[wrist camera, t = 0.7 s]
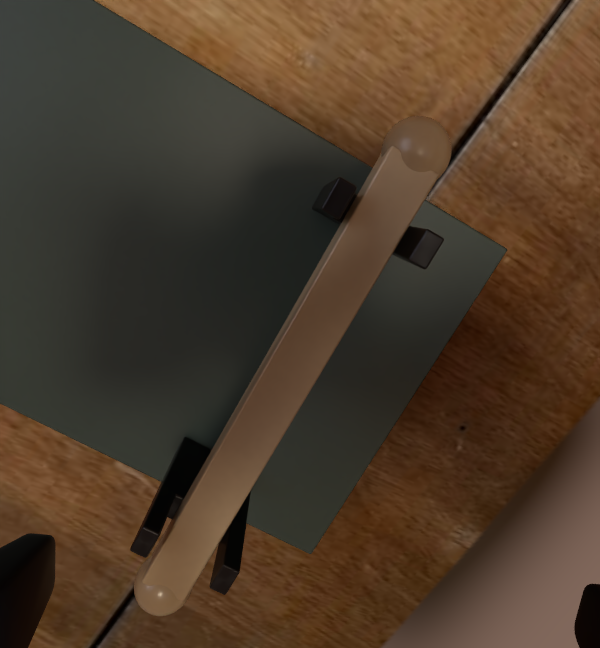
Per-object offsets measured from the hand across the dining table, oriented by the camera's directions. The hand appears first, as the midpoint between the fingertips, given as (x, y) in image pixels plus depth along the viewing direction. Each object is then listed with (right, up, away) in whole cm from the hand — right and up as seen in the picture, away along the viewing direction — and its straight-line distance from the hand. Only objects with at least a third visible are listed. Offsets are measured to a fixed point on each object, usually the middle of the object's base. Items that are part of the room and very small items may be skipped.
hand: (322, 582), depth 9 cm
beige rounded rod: (-1, +2, +9) cm, 9 cm away
